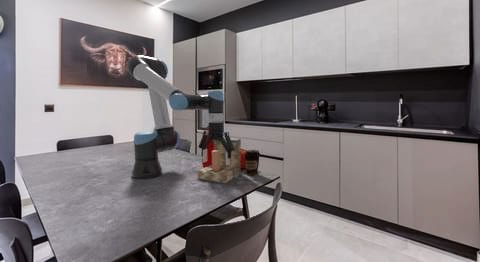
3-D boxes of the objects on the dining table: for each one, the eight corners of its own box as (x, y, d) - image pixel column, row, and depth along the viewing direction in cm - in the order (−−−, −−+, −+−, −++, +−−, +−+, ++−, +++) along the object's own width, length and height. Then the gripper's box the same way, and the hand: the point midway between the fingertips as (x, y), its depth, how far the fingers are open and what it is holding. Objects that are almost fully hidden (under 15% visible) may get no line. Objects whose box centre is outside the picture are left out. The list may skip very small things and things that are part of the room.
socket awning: (197, 178, 120) (197, 141, 118) (215, 170, 135) (215, 137, 133) (224, 183, 113) (224, 143, 111) (240, 173, 128) (240, 139, 126)
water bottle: (208, 163, 151) (208, 124, 148) (221, 165, 144) (221, 125, 141) (198, 166, 143) (197, 125, 140) (211, 169, 137) (210, 126, 134)
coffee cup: (258, 177, 122) (259, 152, 120) (243, 176, 124) (243, 152, 122) (260, 172, 130) (260, 149, 129) (245, 171, 132) (246, 148, 131)
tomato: (224, 169, 136) (224, 151, 135) (233, 164, 149) (233, 147, 148) (246, 171, 132) (247, 153, 131) (253, 166, 144) (253, 149, 143)
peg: (210, 178, 120) (210, 151, 118) (214, 176, 123) (214, 150, 122) (217, 179, 118) (216, 152, 116) (221, 177, 122) (221, 150, 120)
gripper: (191, 121, 120) (192, 161, 122) (234, 123, 109) (234, 167, 111) (199, 120, 126) (200, 159, 129) (241, 122, 115) (241, 164, 118)
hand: (216, 163), depth 120 cm, fingers open, 13 cm apart
